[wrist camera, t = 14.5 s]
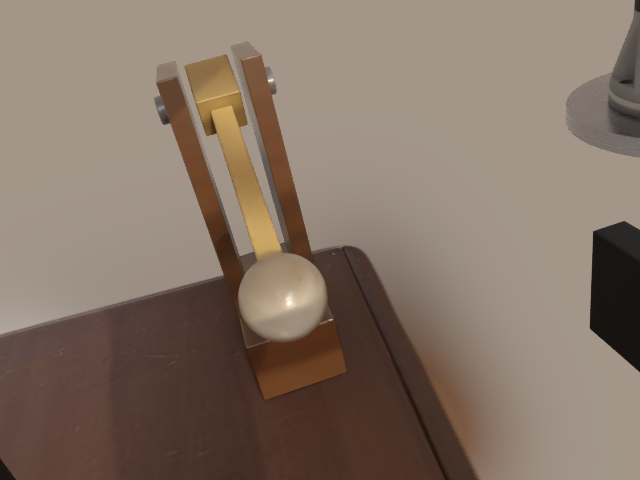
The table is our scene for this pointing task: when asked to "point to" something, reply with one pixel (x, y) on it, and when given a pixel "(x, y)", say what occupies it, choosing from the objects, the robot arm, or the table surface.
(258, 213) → the switch lever
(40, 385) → the table surface
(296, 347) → the switch bracket
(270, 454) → the table surface
